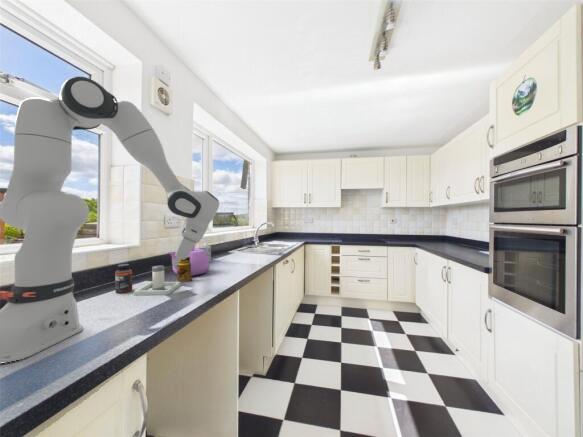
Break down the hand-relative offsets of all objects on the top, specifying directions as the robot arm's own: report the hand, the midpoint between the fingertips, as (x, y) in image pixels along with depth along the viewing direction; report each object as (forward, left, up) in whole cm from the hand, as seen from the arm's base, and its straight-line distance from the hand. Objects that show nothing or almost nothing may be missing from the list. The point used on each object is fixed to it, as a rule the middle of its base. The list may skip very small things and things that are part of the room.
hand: (175, 261), depth 97 cm
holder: (0, -2, -14) cm, 15 cm away
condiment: (+23, +5, -15) cm, 28 cm away
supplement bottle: (+9, +25, -15) cm, 30 cm away
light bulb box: (+70, +10, -15) cm, 72 cm away
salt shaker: (+7, +10, -14) cm, 18 cm away
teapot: (+38, +7, -15) cm, 41 cm away
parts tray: (+7, +10, -14) cm, 19 cm away
